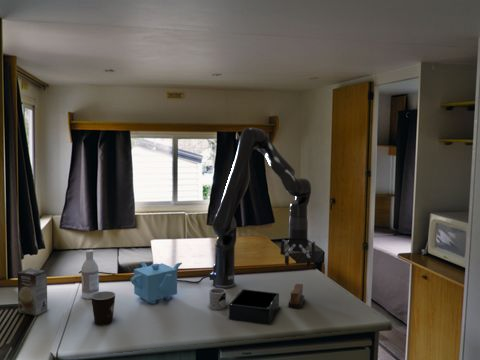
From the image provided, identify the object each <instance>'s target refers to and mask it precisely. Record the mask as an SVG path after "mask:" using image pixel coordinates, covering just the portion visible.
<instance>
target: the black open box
mask: <svg viewBox="0 0 480 360" xmlns="http://www.w3.org/2000/svg"><path fill="white" fill-rule="evenodd" d="M279 308H280V293H278V292H271V291H270V292H269V291H263V290H255V289H254V290H253V289H244V288H243V289H241V290H240V291H239V292H238V294H237V295H236V296H235V297H234V298H233V300H232V301H230V303H228V319H229V320H232V321H233V320H234V321H241V322H247V323H255V324H263V325H270V324H271V322H272V320H273V319H274V317H275V315H276V313H277V311H278V310H279Z"/></svg>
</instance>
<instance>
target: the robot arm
mask: <svg viewBox="0 0 480 360" xmlns="http://www.w3.org/2000/svg"><path fill="white" fill-rule="evenodd" d="M253 150H257V151H258V152H260V153H261V154H262V155H263V156H264V157H265V159H266V160H267V162H268V165H269V167H270V169H271V171H272V172H273V173H274V174H275V175H276V177H277V178H278V179H279V180H280V181H281V183H282V186H283V188H284V189H285V191H286V192H287V193H288V195H290V196H291V197H295V199H294V200H293V201H291V203H290V206H289V222H288V240H285V239H282V240H281V241H280V252H279V253H280V255H281V256H284V264H285V265H286V266H289V265H290V254H291V252H295V253H297V252H298V253H303V254H304V255H305V256H306V267H307V268H310V266H311V265H312V258H315V257H316V255H317V253H316V241H309V240H308V226H309V224H308V223H309V222H308V221H309V219H308V205H309V202H310V198H311V194H312V185H311V182H310V181H309V179H307V178H303V177H302V178H296V177H295V174H296V171H295V169H294V167H292V165H291V164H289V162H288V161H287V160H286V159H285V158H284V157H283V155H282V154H281V153H280V152H279V151H278V149H277V148H276V147H275V146H274V144H273V143H272V141H271V139H270V138H269V136H268V134H267V133H266V132H265V131H264V130H263V129H260V128H257V127H252V126H248V127H246V128H244V129H243V130H242V132H241V133H240V136H239V140H238V145H237V150H236V154H235V157H234V161H233V164H232V168H231V171H230V174H229V175H228V180H227V183H226V186H225V189H224V192H223V196H222V199H221V202H220V206H219V208H218V210H217V213H216V214H215V216H214V219H213V221H212V231H213V233H214V234H215V235H216V236H217V238H216V240H215V243H214V264H213V266H212V268H213V269H212V271H211V272H210V273H209V274H208V275H205V276H203V277H201V278H200V279H199V280H197V281H193V280H186V279H185V280H184V279H177V282H178V283H179V282H181V283H190V284H199V283H201V282H202V281H203V279H206V278H209V280H210V281H212V286H213V287H215V288H222V289H229V288H232V287H234V286H235V283H236V282H235V264H236V263H235V261H236V260H235V259H236V258H235V257H236V256H235V255H236V252H235V249H236V248H235V247H236V243H237V233H238V231H237V229H238V228H237V226H238V224H237V220H236V218H235V216H234V215H235V213H236V210H237V208H238V206H239V205H240V203H241V201H242V199H243V198H244V196H245V194H246V192H247V189H248V187H249V183H250V180H251V170H250V159H251V156H252V152H253ZM287 245H288V247H289V248H288V250H287V251H285V248H286V246H287ZM308 246H309V248H311V253H310V251H309V250H308ZM78 274H81V270H80V271H78ZM99 274H100V275H101V274H103V275H113V276H116V275H115V274H117V273H115V272H114V273H113V272H104V271H99Z"/></svg>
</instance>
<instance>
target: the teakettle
mask: <svg viewBox="0 0 480 360" xmlns="http://www.w3.org/2000/svg"><path fill="white" fill-rule="evenodd" d="M140 264H141V266H142V267H137V268H134V269H133V275H132V276H133V277H130V283H131V284H132V285H133V291H134V292H133V293H134V295H136V296H137V297H139V298H140V299H141V300H144V301H146V302H148V303H149V304H152V305H153V304H156V303H157V300H159V299H164V300H171V299H172V297H171V296H173V295H177V294H178V281H177V280H178V270H179V267H180V266H181V265H182V264H183V262H178V263H176V264H175V265H174V266H173V267H172V266H170V265H167V264H165V263H163V262H162V263H152V264H151V265H147V264H146V262H143V261H140Z"/></svg>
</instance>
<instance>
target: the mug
mask: <svg viewBox="0 0 480 360" xmlns="http://www.w3.org/2000/svg"><path fill="white" fill-rule="evenodd" d="M208 292H209V297H208V298H209V299H208V300H209V301H208V305H209V309H211V310H214V311H215V310H216V311H221V310H224V309H226V308H227V290H226V288H219V287H213V288H210V289H209V291H208Z"/></svg>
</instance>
